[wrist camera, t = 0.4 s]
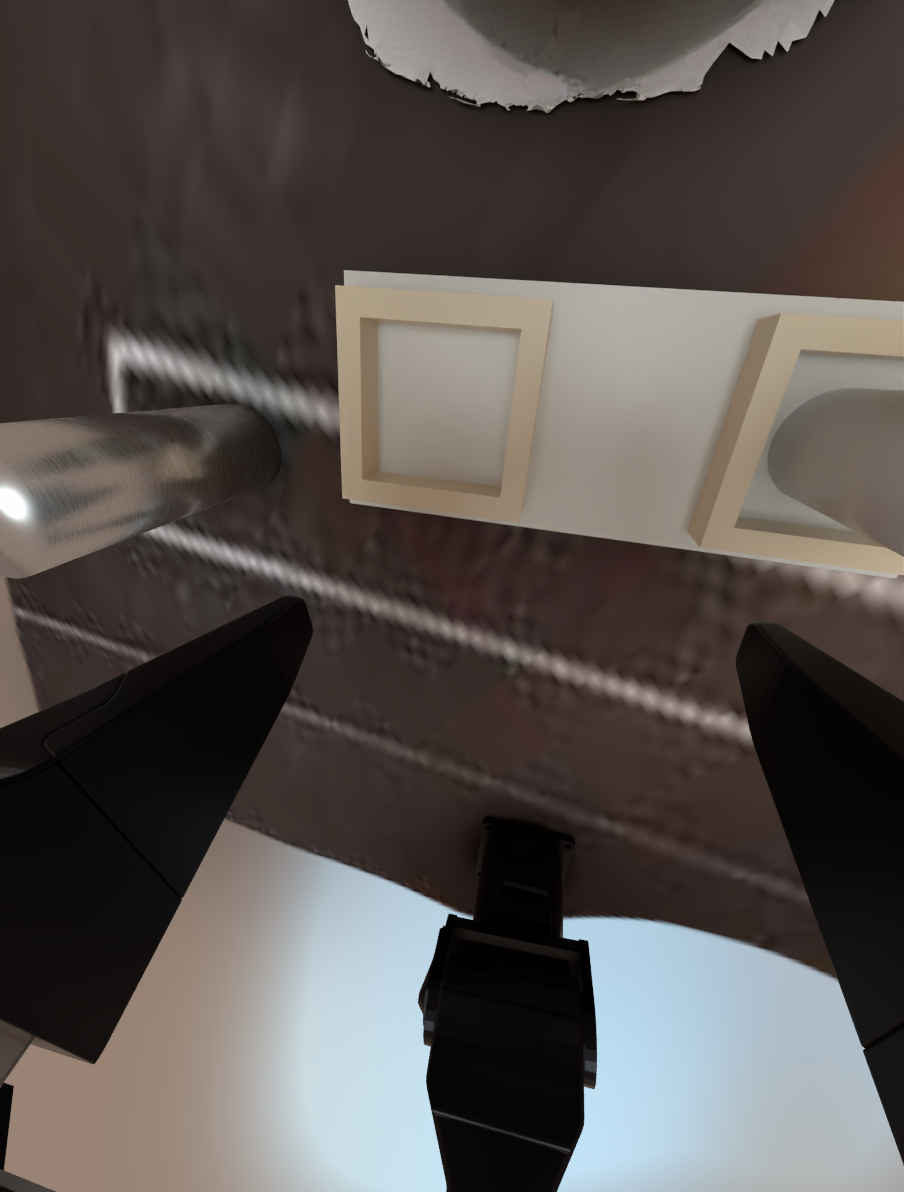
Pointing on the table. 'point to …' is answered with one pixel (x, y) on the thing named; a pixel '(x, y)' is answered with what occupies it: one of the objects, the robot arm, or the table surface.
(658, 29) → the decorative urn
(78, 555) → the clear drinking glass
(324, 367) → the table surface
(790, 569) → the table surface
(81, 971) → the robot arm
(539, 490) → the white oblong stand
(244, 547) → the table surface
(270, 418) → the table surface
